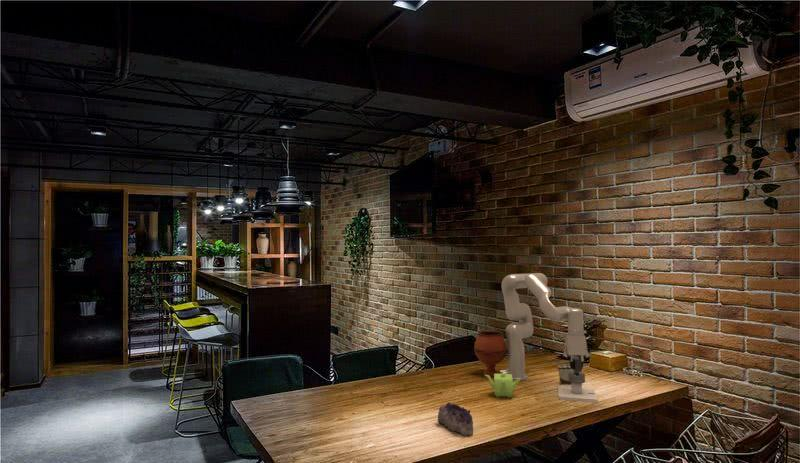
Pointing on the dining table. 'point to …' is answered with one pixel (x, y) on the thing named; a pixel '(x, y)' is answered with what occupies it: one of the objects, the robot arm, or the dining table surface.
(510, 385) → the kettle
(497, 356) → the goblet
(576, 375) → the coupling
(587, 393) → the post base
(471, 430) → the geode
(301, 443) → the dining table surface
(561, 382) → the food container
